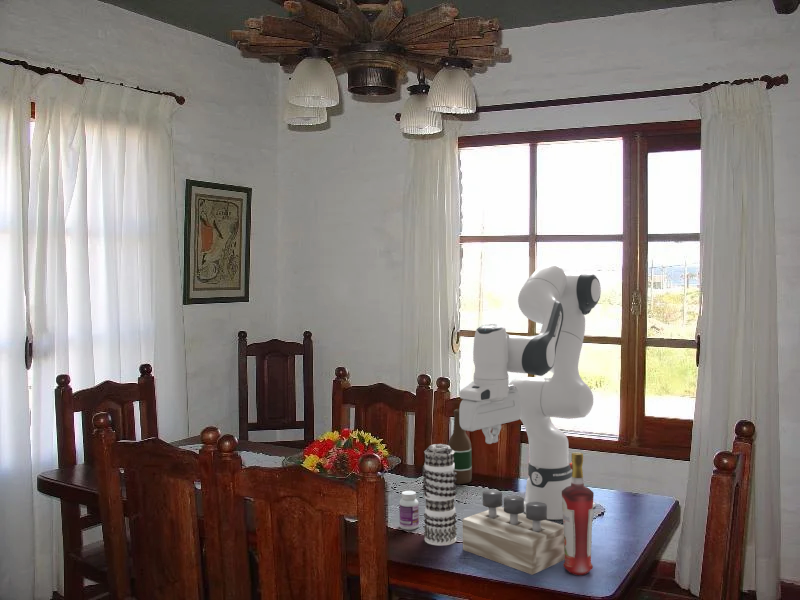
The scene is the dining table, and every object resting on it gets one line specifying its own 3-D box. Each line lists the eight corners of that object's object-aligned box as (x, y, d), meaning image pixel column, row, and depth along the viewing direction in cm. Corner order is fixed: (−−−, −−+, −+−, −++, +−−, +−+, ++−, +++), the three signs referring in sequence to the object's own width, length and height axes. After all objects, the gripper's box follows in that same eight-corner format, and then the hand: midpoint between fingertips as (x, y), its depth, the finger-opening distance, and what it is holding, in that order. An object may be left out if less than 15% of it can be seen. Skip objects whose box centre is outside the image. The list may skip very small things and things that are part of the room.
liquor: (558, 565, 185) (557, 450, 183) (588, 564, 185) (588, 449, 184) (566, 578, 177) (566, 458, 176) (598, 577, 178) (597, 457, 176)
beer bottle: (472, 484, 253) (471, 411, 251) (449, 484, 253) (447, 412, 251) (470, 477, 260) (469, 407, 259) (447, 477, 260) (446, 407, 259)
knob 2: (512, 525, 196) (512, 494, 195) (528, 530, 192) (528, 498, 192) (499, 530, 192) (499, 498, 192) (515, 535, 189) (515, 503, 188)
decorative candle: (415, 539, 204) (414, 445, 203) (442, 531, 210) (441, 440, 208) (438, 549, 197) (436, 452, 195) (465, 540, 202) (463, 446, 201)
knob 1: (491, 519, 201) (491, 488, 200) (506, 523, 197) (506, 492, 197) (478, 523, 198) (478, 493, 197) (493, 528, 194) (493, 497, 193)
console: (498, 535, 205) (498, 506, 205) (567, 558, 189) (567, 526, 189) (462, 549, 196) (462, 518, 195) (532, 574, 180) (532, 541, 179)
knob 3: (534, 532, 191) (534, 500, 190) (551, 537, 187) (551, 505, 186) (522, 537, 187) (521, 505, 187) (538, 542, 184) (538, 509, 183)
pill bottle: (417, 530, 210) (416, 495, 210) (398, 529, 211) (397, 495, 211) (420, 524, 216) (419, 490, 215) (401, 523, 217) (401, 489, 216)
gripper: (507, 382, 205) (508, 434, 206) (454, 392, 191) (455, 447, 192) (526, 385, 200) (527, 437, 201) (473, 395, 186) (474, 451, 187)
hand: (491, 442), depth 196 cm, fingers closed
